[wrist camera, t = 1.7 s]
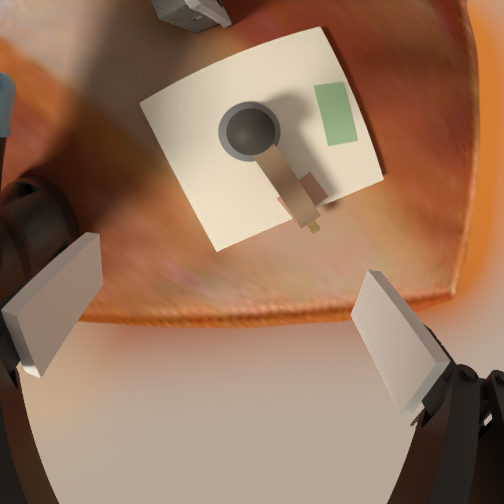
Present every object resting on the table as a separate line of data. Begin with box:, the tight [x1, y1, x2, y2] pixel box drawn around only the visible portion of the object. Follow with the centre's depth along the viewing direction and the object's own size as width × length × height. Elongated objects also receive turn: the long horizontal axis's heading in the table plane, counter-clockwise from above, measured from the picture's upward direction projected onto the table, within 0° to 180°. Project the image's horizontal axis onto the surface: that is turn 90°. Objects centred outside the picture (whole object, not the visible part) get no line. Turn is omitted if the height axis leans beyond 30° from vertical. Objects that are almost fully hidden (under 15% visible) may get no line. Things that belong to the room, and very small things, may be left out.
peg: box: [226, 108, 321, 234], centre depth 26 cm, size 14×4×4 cm, turn 34°
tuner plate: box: [139, 27, 384, 251], centre depth 27 cm, size 20×18×2 cm
